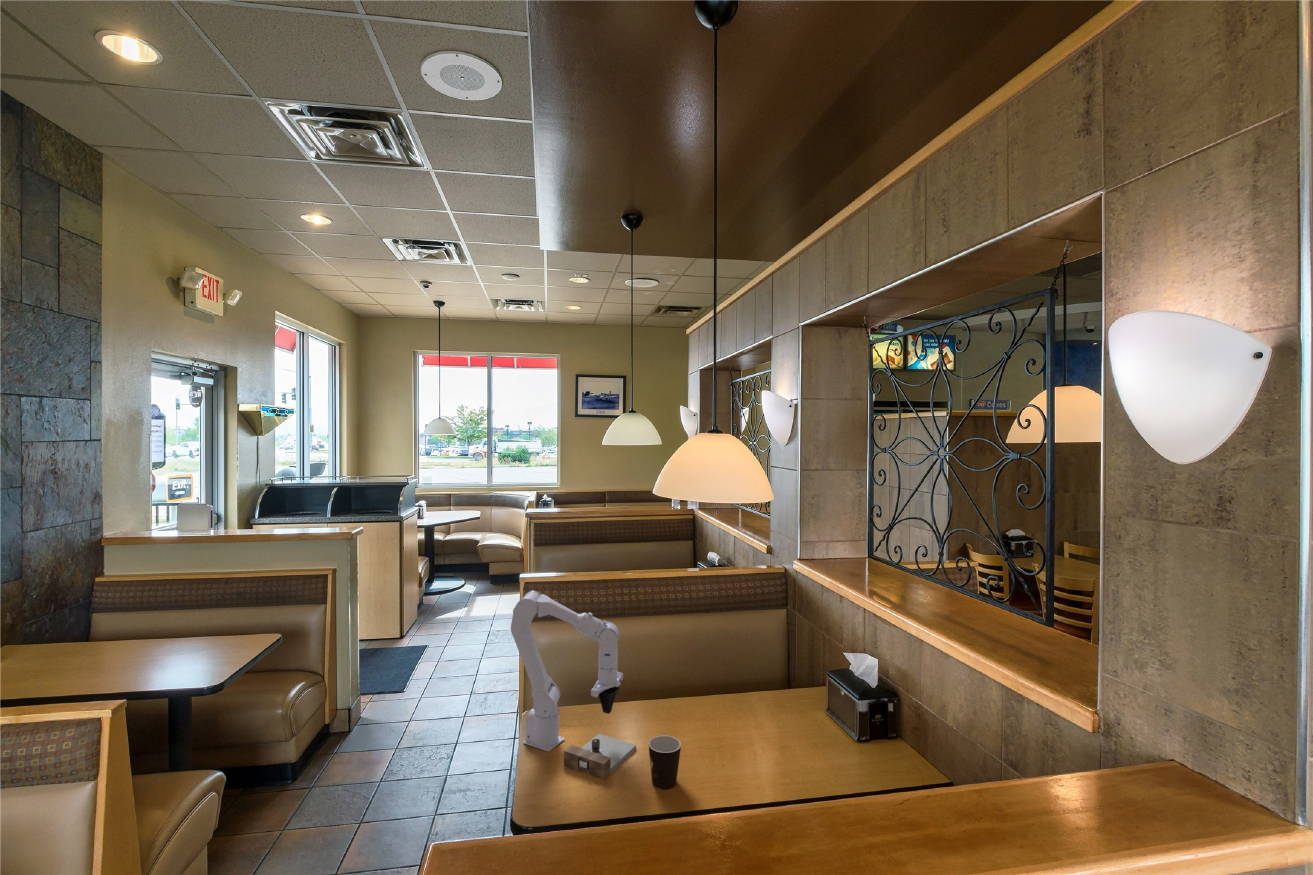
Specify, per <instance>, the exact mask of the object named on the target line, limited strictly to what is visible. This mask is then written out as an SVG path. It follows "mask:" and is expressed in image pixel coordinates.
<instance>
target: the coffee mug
mask: <svg viewBox="0 0 1313 875" xmlns="http://www.w3.org/2000/svg"><path fill="white" fill-rule="evenodd" d="M681 749H682V743H681V741H680V739H678V738H677V737H674V736H672V735H665V734H663V735H657V736H654V737H652V738H650V740H648V752H649V764H650V765H649V766H650V774H651V784H652V786H653V787H655V788H656V789H659V790H671V789H673V788H674V787H675V786H676V785H677V780H678V779H677V778H678V772H679V771H678V770H679V766H680V765H679V764H680V758H681Z"/></svg>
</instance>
